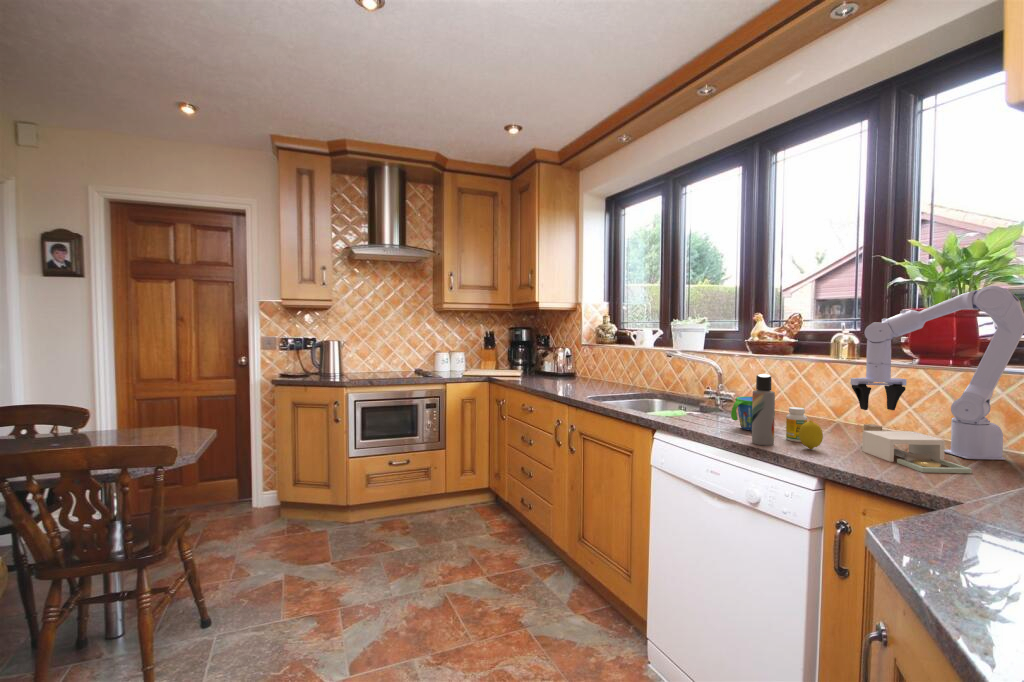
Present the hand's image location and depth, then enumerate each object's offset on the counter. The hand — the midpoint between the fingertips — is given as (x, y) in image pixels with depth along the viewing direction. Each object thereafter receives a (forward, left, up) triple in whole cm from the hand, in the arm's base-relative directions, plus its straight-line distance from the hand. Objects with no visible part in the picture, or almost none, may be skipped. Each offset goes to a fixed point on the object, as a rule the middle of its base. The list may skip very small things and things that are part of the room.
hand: (877, 409), depth 139 cm
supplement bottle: (+23, 0, -10) cm, 25 cm away
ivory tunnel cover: (+6, +17, -9) cm, 20 cm away
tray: (+6, +27, -9) cm, 29 cm away
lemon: (+25, +11, -10) cm, 29 cm away
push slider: (+5, +14, -9) cm, 18 cm away
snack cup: (+29, -15, -10) cm, 34 cm away
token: (+6, +25, -10) cm, 28 cm away
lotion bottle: (+35, +5, -10) cm, 37 cm away
